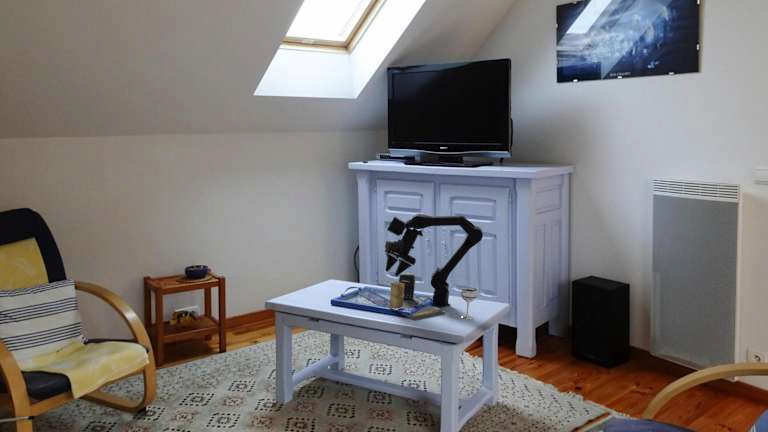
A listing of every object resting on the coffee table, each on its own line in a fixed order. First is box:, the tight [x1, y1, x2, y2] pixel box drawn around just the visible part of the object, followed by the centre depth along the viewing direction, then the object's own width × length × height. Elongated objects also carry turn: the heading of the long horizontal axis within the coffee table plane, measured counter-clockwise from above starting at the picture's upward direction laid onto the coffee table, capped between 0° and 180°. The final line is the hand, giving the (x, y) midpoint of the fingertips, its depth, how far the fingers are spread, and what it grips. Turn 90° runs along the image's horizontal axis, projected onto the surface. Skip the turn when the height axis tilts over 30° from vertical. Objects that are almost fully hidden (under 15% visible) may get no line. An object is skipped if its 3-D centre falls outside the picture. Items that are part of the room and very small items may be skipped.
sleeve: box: [389, 281, 405, 309], centre depth 282 cm, size 4×4×11 cm
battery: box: [398, 272, 416, 301], centre depth 297 cm, size 7×4×11 cm, turn 70°
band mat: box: [401, 305, 446, 321], centre depth 279 cm, size 17×11×2 cm, turn 129°
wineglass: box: [460, 286, 478, 320], centre depth 277 cm, size 7×7×12 cm
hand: (391, 273), depth 288 cm, fingers open, 9 cm apart
